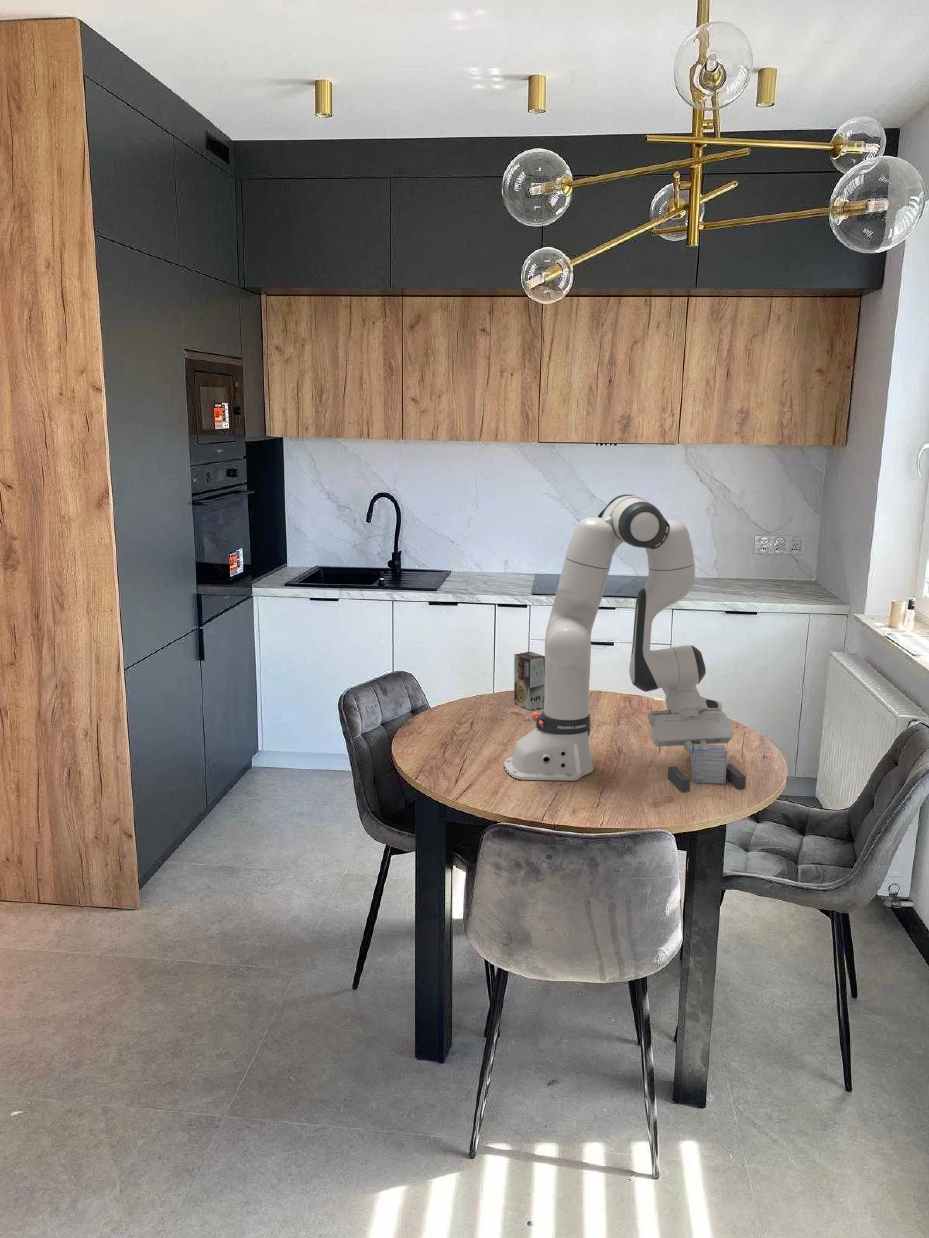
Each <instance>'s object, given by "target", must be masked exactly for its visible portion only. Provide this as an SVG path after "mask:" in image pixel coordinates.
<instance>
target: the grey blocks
mask: <svg viewBox="0 0 929 1238" xmlns="http://www.w3.org/2000/svg"><path fill="white" fill-rule="evenodd" d="M667 779H668V781H669V782H670V783H672V785H673V786H674V787H676V789H677V790H678V791H679V792H680V793H688V792H690V784H691V779H689V778H688V776H686V774H684V772H682V771H681V770H680V769H679V768H678V767H677V766H668V767H667ZM727 780H728V782H729V784H731V785H732V786H733V787H734V788H735V789H737V790H741V789H743V790H744V789H746V784H747V783H746V782H747V776H746V775H745V774H743V772H741V771H740V770H738V768H736V767H735V766H733V765H732V764H731V763H727V766H726V781H727Z"/></svg>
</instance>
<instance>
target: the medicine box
mask: <svg viewBox="0 0 929 1238" xmlns="http://www.w3.org/2000/svg"><path fill="white" fill-rule="evenodd" d="M691 747H692V756H690V778H691V779H690V780H691V782H692V783H693V784H718V785H723V784H724V785H725V784H726V781H727V780H726V766H727V764H728V750H727V749H726V746H725V745H724V744H692V745H691Z"/></svg>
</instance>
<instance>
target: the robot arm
mask: <svg viewBox="0 0 929 1238" xmlns="http://www.w3.org/2000/svg"><path fill="white" fill-rule="evenodd" d="M623 543H626V544H627V545H630V546H631V547H635V548H641V549H642V548H643V549H645V552H646V555H647V566H648V567H647V568H648V576H647V580H646V583H645V584H644V587H643V588H641V589H639V591H638V592H637V595H636V599H635V600H636V601H635V611H634V620H633V622H634V623H633V635H632V645H631V646H632V648H631V654H630V655H631V656H630V661H629V668H628V669H629V670H628V671H629V678H630V681H631V683H632V685H633V686H635V688H637V689H639V690H640V691H643V692H645V693H646V692H651V691H655V690H658V689H662V691H663V693H664V695H665V705H666V709H667V710H653V711H652V712H650V713H649V714H648V716H647V719H648V724H649V726H650V728H651V740H652V744H653V745H655V746H656V747H659V748H661V747H676V746H677V747H678V746H682V747H683V748H684V750H685V752H687V754H688V755H690V757H691V756H692V744H715V745H720V744H728V743H729V742H730V741H731V740H732V738H733V736H734V730H733V727H732V725H731V721H730V719H729V717H728V715H727V714H726V712H724V711H722V710H723V703H722V702H721V701H719V700H714V699H710V698H707V697H704V696H701V695H700V692H699V690H698V689H697V685H699V684H700V683H701V681H702V680H703V679H704V677H705V676H706V674H707V673H706V670H707V669H706V666H705V665H706V664H705V661H704V658H703V654H702V651H700V649H698V648H697V647H696V646H694V645H692V644H691V645H688V644H686V645H679V646H678V645H677V646H673V647H668V648H660V649H654V650H652V649H651V638H652V637H651V636H652V627H653V621H654V619H655V618H656V617H657V615H658V614H659V613H661V612H662V611H664V610H665V609H666V608H668V607H670V606H671V605H674V604H676V603H677V602H679V601H681V600H683V599H684V598H685V597H686V596H687V595H689V593H690V592H691V591H692V589H693V587H694V585H695V581H696V565H695V559H694V550H693V545H692V541H691V537H690V533H689V530H688V528H687V525H686V524H684V523H683V522H681V521H680V520H677V519H666V518H665V517H664V515H663V514H662V512H661V511H660V510H659V508H657V507H656V506H655V505H653V504H652V503H651V502H650V501H648V500H647V499H644V498H642V497H639V496H636V495H633V494H621V495H617V496H616V497H614V498H613V499H611V500H610V501H609V502H608V504H607V505H606V506H605V507H604V509H602V510H601V512H600V513H599V514H598V515H597V516H588V517H586V518H585V517H584V518H583V519H581V520H580V521H579V522H578V523H577V525H576V528H575V530H574V531H573V534H572V536H571V538H570V541H569V544H568V547H567V551H566V554H565V557H564V562H563V566H562V569H561V572H560V573H561V574H560V577H559V581H558V585H557V589H556V592H555V596H554V599H553V600H554V601H553V603H552V604H553V605H552V608H551V611H550V615H549V619H548V621H547V626H546V632H545V637H544V638H545V640H544V656H545V696H544V708H543V710H544V711H543V712H542V713H541V714H539V713H538V712H537V711H533V712H532V713H531V715H530V716H531V718H532V720H533V721H534V722H535V727H534V728H533V729H532V730H530V732H528V733H527V734H525V735H524V736H522V737H521V738H519V739H518V740H517V741H516V743H515V744H514V747H513V753H512V756H510V757H509V756H508V757H507V758H506V759H505V760H504V763H503V768H504V767H505V769H504V771H505V770H506V771H507V772H506V771H505V772H506V774H508V773H509V774H508V775H509V776H510V775H511V776H512V777H511V776H510V777H511V778H513V777H514V778H513V779H515V778H517V779H516V780H518V779H521V781H522V780H524V781H566V782H567V781H571V782H572V781H574V782H575V781H578V780H580V779H581V778H582V777H584V776H586V775H589V774H590V773H592V772H593V770H594V765H593V764H594V763H593V761H592V756H591V751H590V738H589V737H590V732H591V715H590V713H589V709H590V708H589V705H590V704H589V703H590V702H589V701H590V677H591V676H590V675H591V657H592V655H591V654H592V652H591V650H592V639H591V638H592V637H591V636H592V631H593V627H594V625H595V620H596V617H597V614H598V611H599V608H600V605H601V602H602V599H603V596H604V591H605V588H606V585H607V580H608V577H609V573H610V569H611V565H612V561H613V560H612V559H613V556H614V554H615V552H616V550H617V549H618V548H619V547H620V545H622V544H623Z"/></svg>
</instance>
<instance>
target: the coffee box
mask: <svg viewBox="0 0 929 1238" xmlns="http://www.w3.org/2000/svg"><path fill="white" fill-rule="evenodd" d="M513 658H514V660H513V662H514V663H513V665H514V666H513V668H514V669H513V670H514V672H513V675H514V677H513V679H514V681H513V683H514V684H513V685H514V686H513V688H514V690H513V691H514V692H513V694H514V695H513V696H514V697H513V698H514V699H513V703H514V702H515V703H516V704H518V705H517V706H519V705H522V706H523V707H525V708H524V709H526V708H528V709H535V708H541V709H544V696H545V655H542V654H538V653H536V652H533V651H526V652H520V653H515V654H514V656H513ZM516 704H515V705H516ZM523 707H522V708H523ZM528 709H527V710H528ZM535 710H536V709H535Z"/></svg>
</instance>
